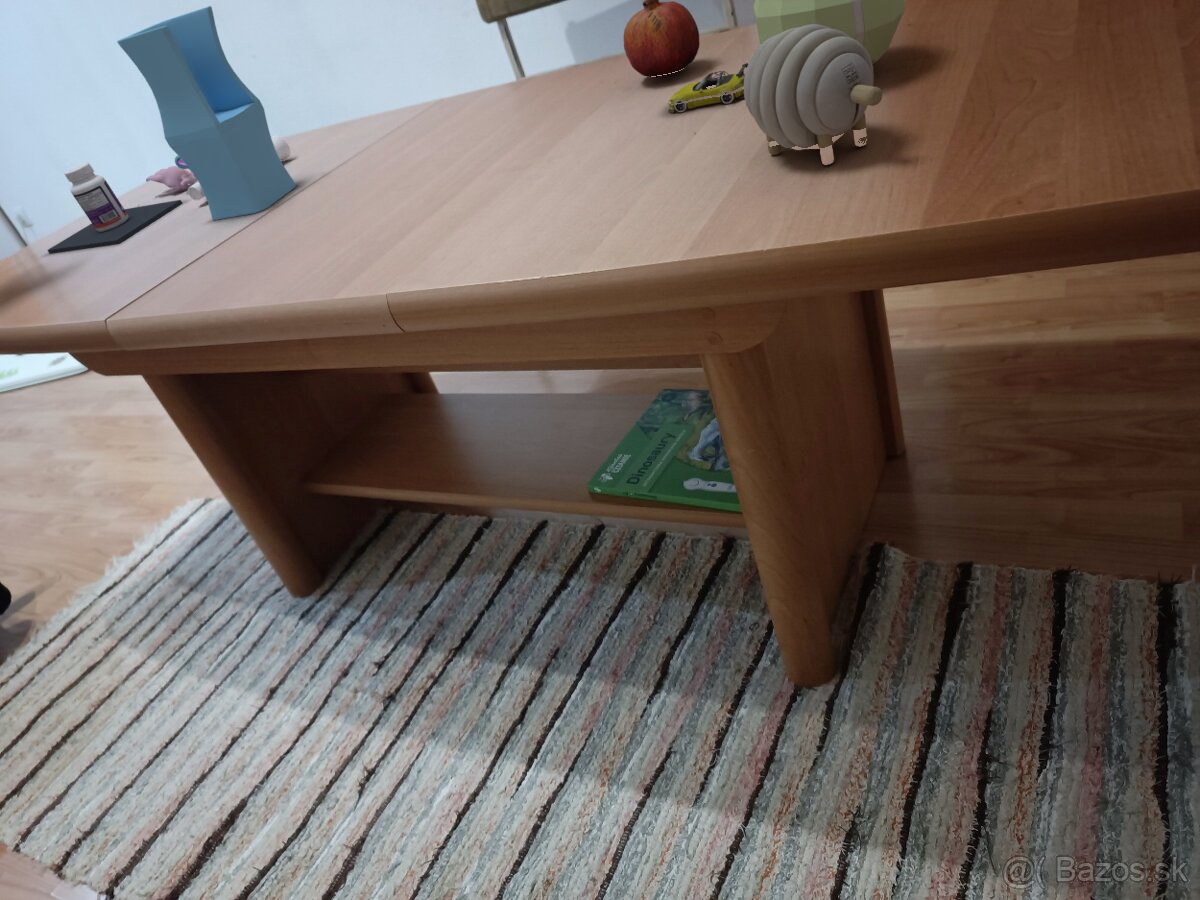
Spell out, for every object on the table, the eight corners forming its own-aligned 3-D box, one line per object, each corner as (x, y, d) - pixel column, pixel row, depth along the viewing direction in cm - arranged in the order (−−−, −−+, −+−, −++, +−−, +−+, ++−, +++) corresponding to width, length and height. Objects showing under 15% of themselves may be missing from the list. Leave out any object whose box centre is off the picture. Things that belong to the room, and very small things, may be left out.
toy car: (675, 101, 108) (670, 76, 106) (754, 85, 104) (750, 60, 102) (664, 116, 104) (658, 91, 103) (746, 100, 100) (741, 74, 98)
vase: (261, 212, 123) (161, 27, 109) (212, 220, 127) (109, 43, 113) (301, 182, 130) (211, 5, 116) (253, 191, 134) (161, 21, 120)
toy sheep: (795, 122, 90) (778, 8, 84) (932, 136, 77) (924, 3, 71) (720, 164, 87) (696, 49, 80) (849, 186, 74) (833, 52, 67)
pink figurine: (232, 182, 150) (166, 180, 155) (218, 148, 146) (150, 148, 151) (208, 198, 145) (141, 196, 150) (193, 164, 142) (125, 162, 147)
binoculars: (296, 157, 145) (282, 130, 142) (240, 198, 133) (224, 169, 131) (248, 168, 149) (234, 141, 146) (190, 208, 137) (174, 180, 135)
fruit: (709, 74, 113) (692, -8, 107) (635, 97, 115) (615, 17, 109) (700, 55, 122) (684, -22, 116) (632, 77, 123) (612, 2, 117)
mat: (49, 253, 141) (47, 250, 141) (113, 214, 151) (111, 211, 150) (119, 243, 133) (116, 240, 132) (182, 203, 142) (180, 199, 142)
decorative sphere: (879, 98, 88) (864, -66, 80) (747, 111, 97) (720, -35, 88) (925, 46, 97) (915, -106, 89) (799, 63, 106) (779, -75, 97)
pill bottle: (110, 221, 144) (73, 165, 138) (136, 214, 143) (100, 157, 137) (91, 235, 140) (52, 178, 134) (117, 228, 138) (79, 170, 133)
